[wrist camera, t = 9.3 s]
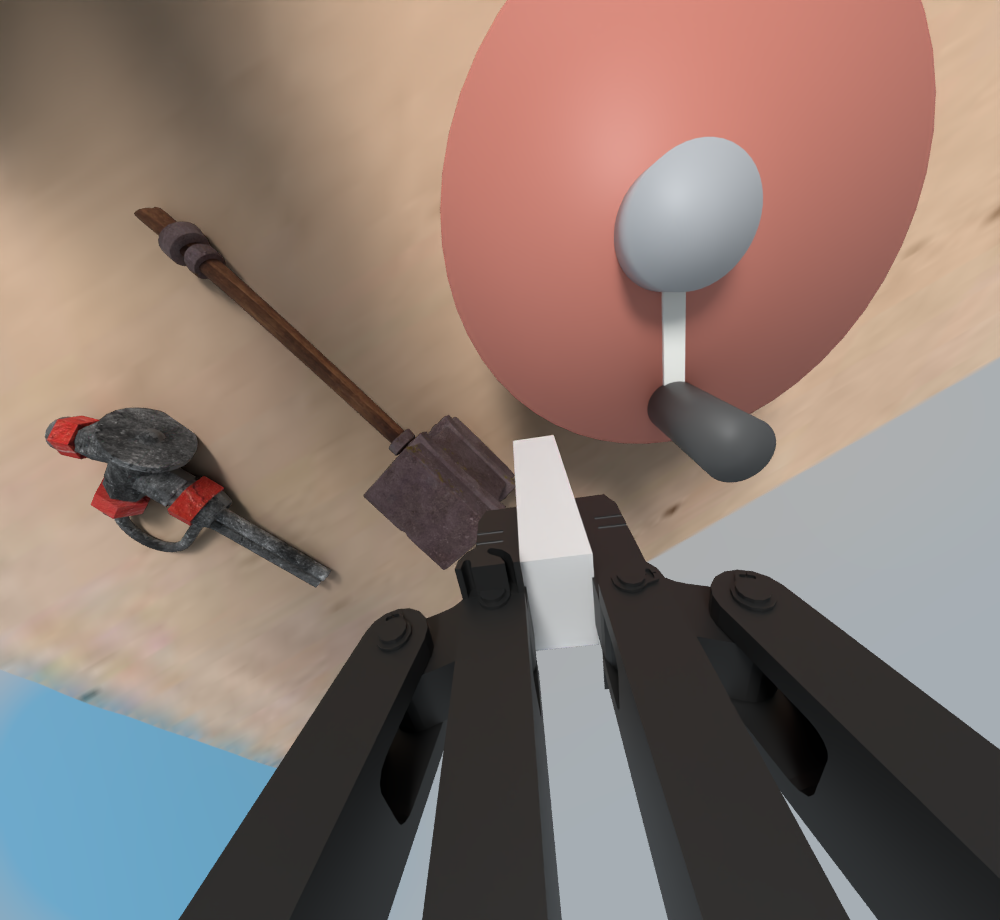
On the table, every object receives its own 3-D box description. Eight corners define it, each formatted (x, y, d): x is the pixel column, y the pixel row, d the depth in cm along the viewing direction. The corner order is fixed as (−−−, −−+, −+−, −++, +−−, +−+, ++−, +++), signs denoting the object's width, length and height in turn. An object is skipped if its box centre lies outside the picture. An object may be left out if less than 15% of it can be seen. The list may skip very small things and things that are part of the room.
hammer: (473, 521, 36) (440, 583, 26) (208, 272, 33) (66, 240, 24) (521, 476, 34) (506, 525, 24) (243, 205, 31) (103, 141, 21)
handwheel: (406, 39, 17) (278, -281, 7) (885, -100, 15) (1535, -771, 5) (494, 442, 25) (486, 534, 15) (810, 387, 23) (1019, 454, 14)
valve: (74, 466, 38) (106, 366, 32) (298, 592, 46) (361, 534, 40) (-2, 505, 33) (18, 395, 26) (267, 641, 41) (333, 583, 35)
